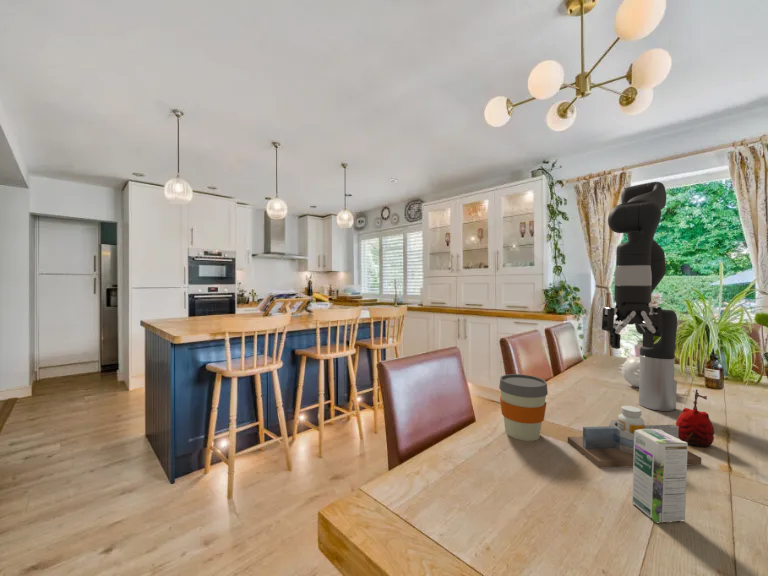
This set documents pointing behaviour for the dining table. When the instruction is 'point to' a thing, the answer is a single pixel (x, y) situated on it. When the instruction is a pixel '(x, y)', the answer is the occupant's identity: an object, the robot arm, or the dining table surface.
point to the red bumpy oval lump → (695, 426)
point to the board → (614, 455)
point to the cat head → (631, 370)
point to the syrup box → (659, 475)
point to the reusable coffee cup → (523, 405)
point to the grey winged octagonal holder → (618, 436)
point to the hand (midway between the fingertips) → (631, 347)
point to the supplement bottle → (630, 419)
